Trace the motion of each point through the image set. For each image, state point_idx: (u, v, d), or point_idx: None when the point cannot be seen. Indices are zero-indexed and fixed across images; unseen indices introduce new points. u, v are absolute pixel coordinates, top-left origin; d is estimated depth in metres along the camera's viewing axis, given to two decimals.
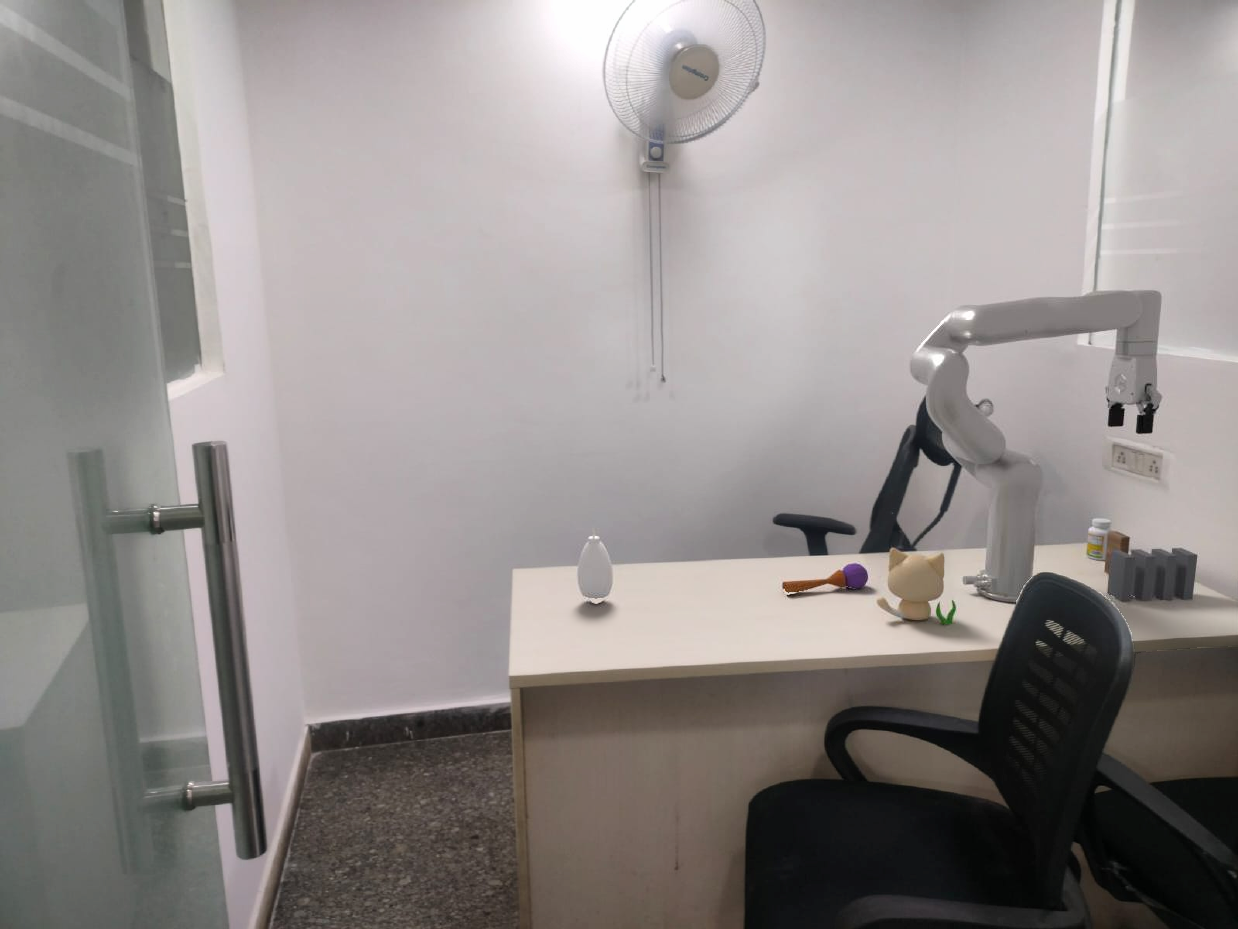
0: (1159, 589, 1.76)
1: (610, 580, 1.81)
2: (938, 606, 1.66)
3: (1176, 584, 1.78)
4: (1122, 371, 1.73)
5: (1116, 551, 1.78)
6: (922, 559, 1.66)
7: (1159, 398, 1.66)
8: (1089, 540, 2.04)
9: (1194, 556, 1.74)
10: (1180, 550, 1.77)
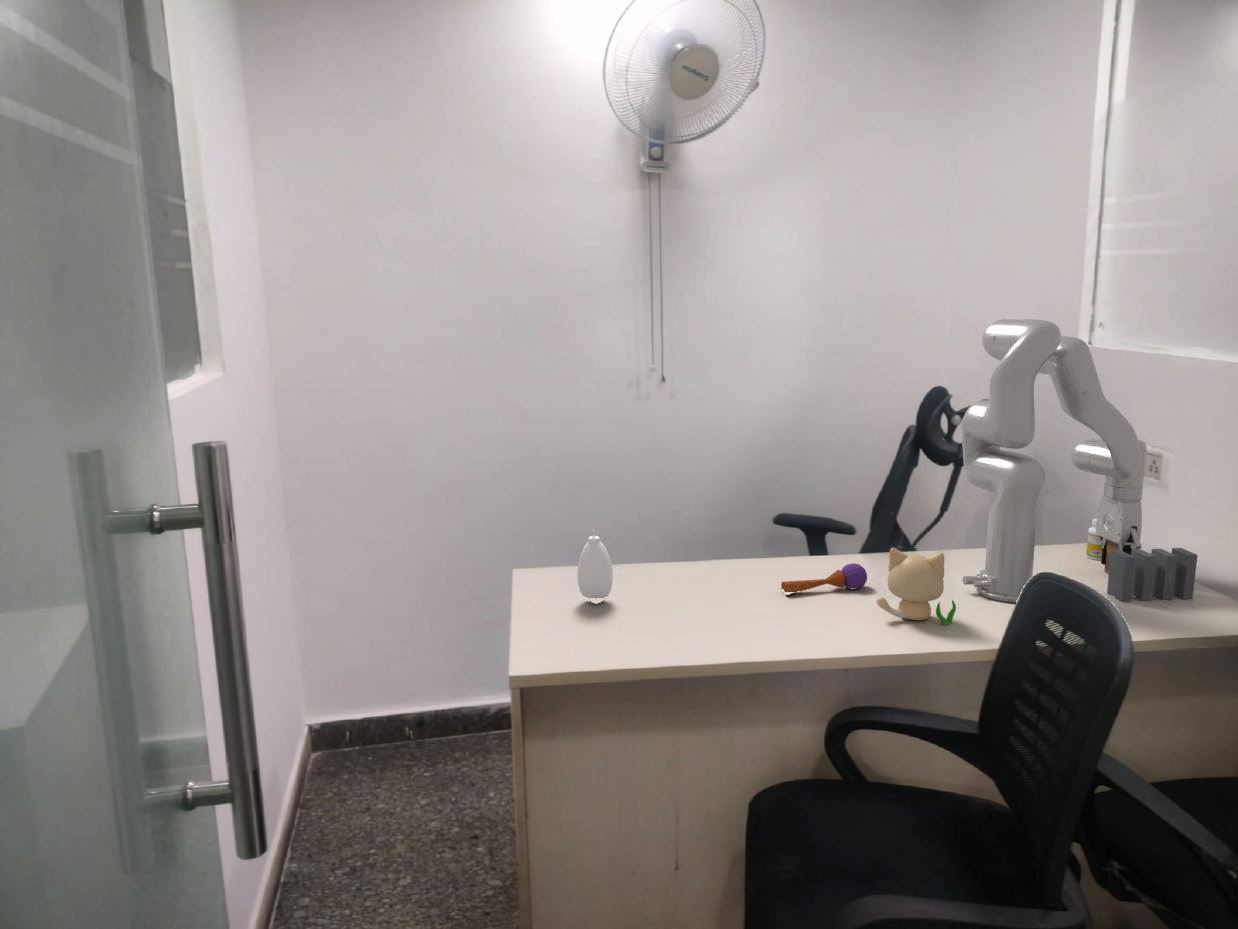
0: (1159, 589, 1.76)
1: (610, 580, 1.81)
2: (938, 606, 1.66)
3: (1176, 584, 1.78)
4: (1110, 512, 1.88)
5: (1116, 551, 1.78)
6: (922, 559, 1.66)
7: (1138, 548, 1.83)
8: (1089, 540, 2.04)
9: (1194, 556, 1.74)
10: (1180, 550, 1.77)
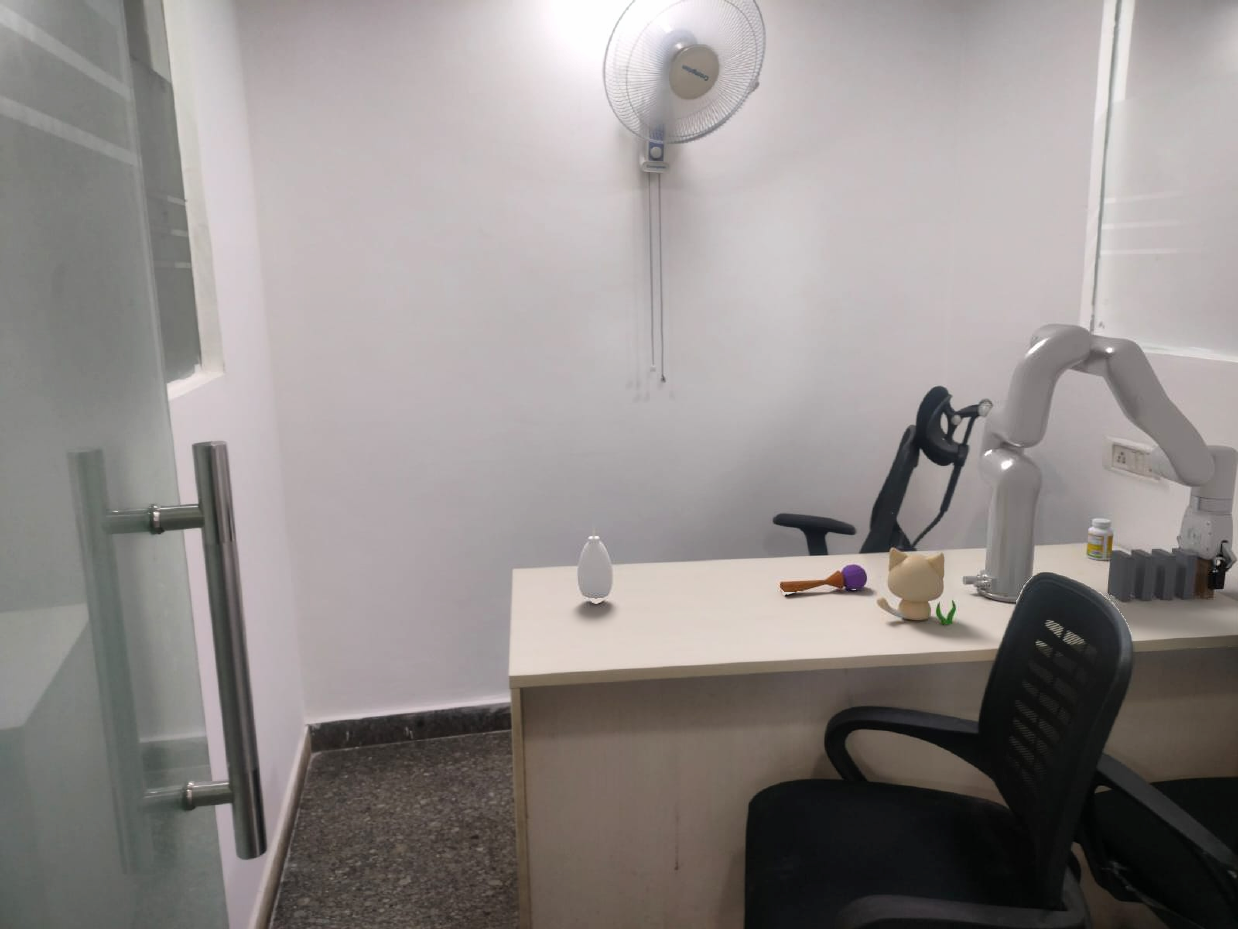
0: (1159, 589, 1.76)
1: (610, 580, 1.81)
2: (938, 606, 1.66)
3: (1176, 584, 1.78)
4: (1197, 524, 1.75)
5: (1116, 551, 1.78)
6: (922, 559, 1.66)
7: (1234, 561, 1.68)
8: (1089, 540, 2.04)
9: (1194, 556, 1.74)
10: (1180, 550, 1.77)
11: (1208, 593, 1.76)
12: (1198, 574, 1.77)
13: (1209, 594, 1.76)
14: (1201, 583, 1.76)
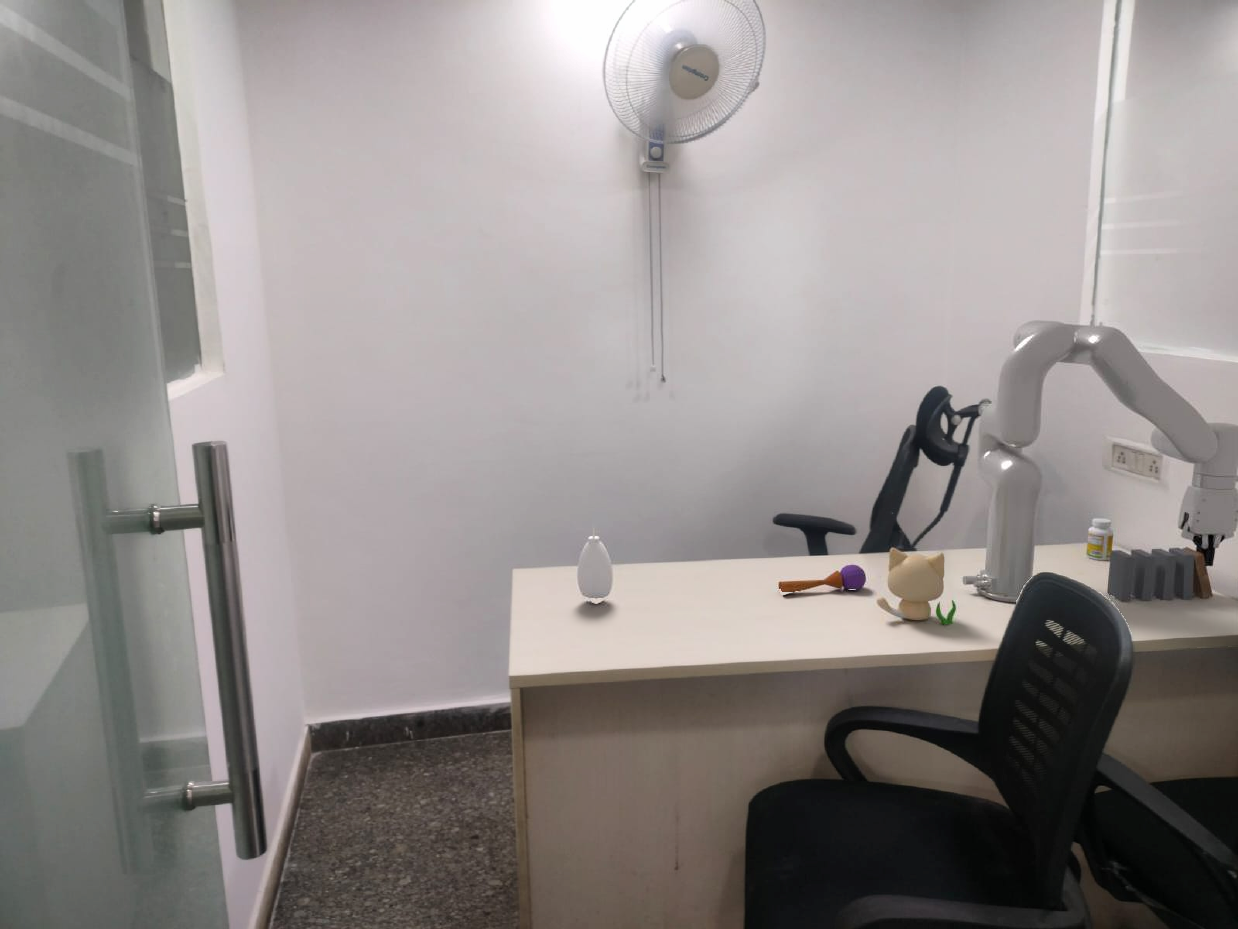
0: (1159, 589, 1.76)
1: (610, 580, 1.81)
2: (938, 606, 1.66)
3: (1175, 584, 1.78)
4: None
5: (1116, 551, 1.78)
6: (922, 559, 1.66)
7: None
8: (1089, 540, 2.04)
9: (1191, 556, 1.74)
10: (1177, 550, 1.77)
11: (1206, 592, 1.76)
12: None
13: (1207, 593, 1.76)
14: (1196, 583, 1.76)
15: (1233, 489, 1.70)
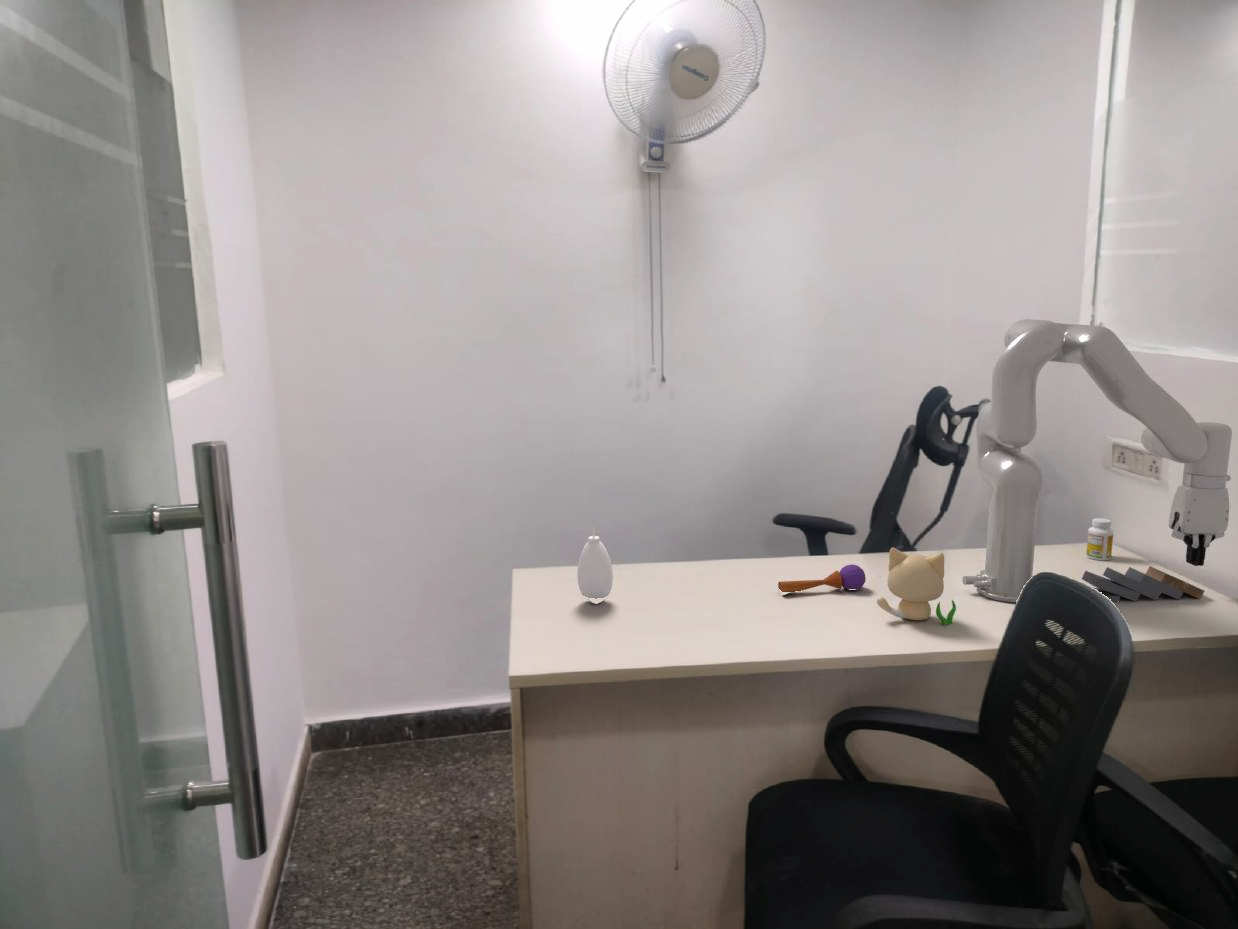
0: None
1: (610, 580, 1.81)
2: (938, 606, 1.66)
3: None
4: None
5: None
6: (922, 559, 1.66)
7: (1175, 537, 1.75)
8: (1089, 540, 2.04)
9: (1144, 577, 1.74)
10: (1131, 575, 1.78)
11: (1197, 593, 1.76)
12: None
13: (1198, 592, 1.76)
14: None
15: (1223, 489, 1.70)
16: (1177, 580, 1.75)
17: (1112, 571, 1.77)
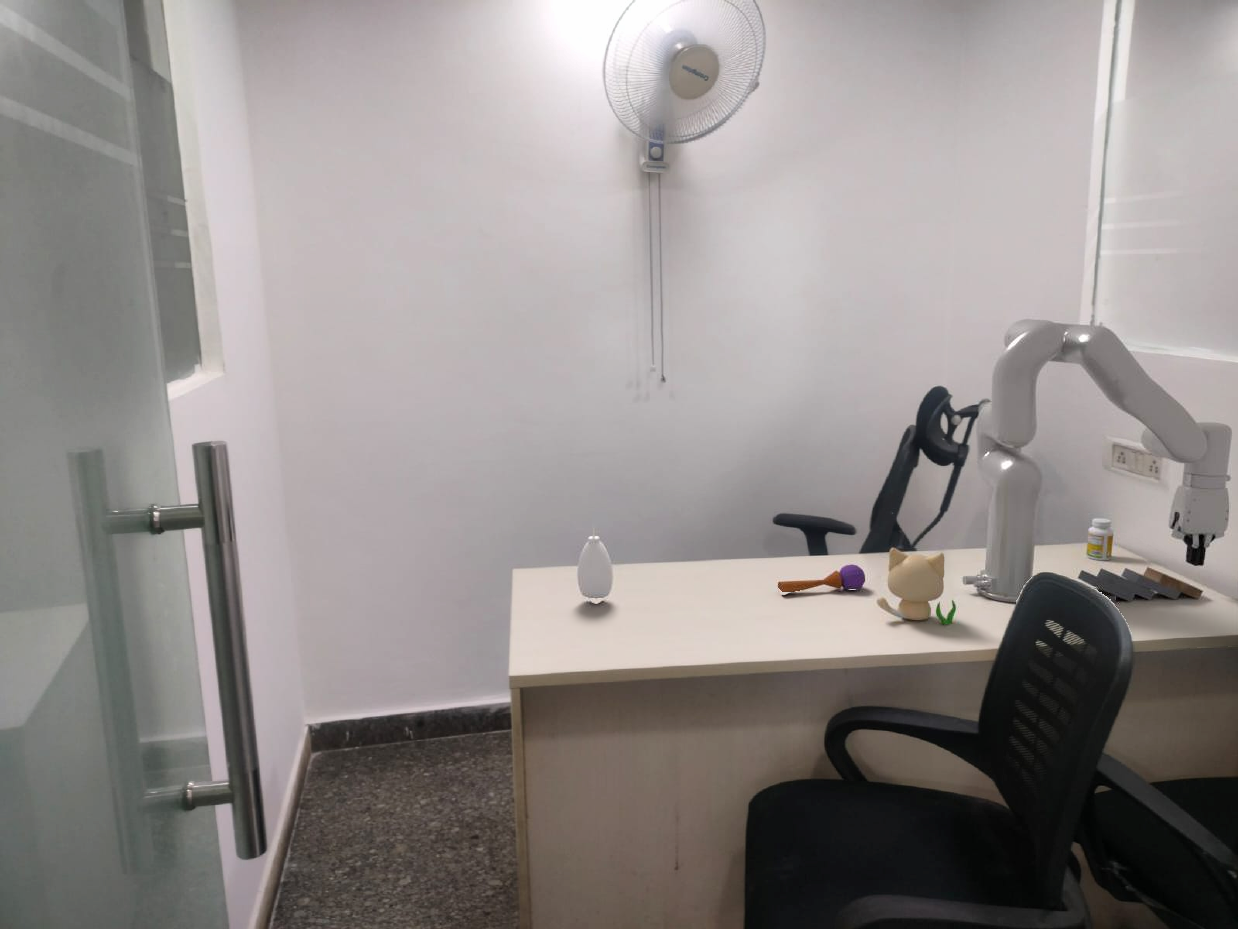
0: None
1: (610, 580, 1.81)
2: (938, 606, 1.66)
3: None
4: None
5: None
6: (922, 559, 1.66)
7: (1175, 537, 1.75)
8: (1089, 540, 2.04)
9: (1140, 578, 1.75)
10: (1127, 576, 1.78)
11: (1195, 593, 1.75)
12: None
13: (1196, 593, 1.75)
14: None
15: (1223, 489, 1.70)
16: (1175, 581, 1.75)
17: (1106, 572, 1.77)
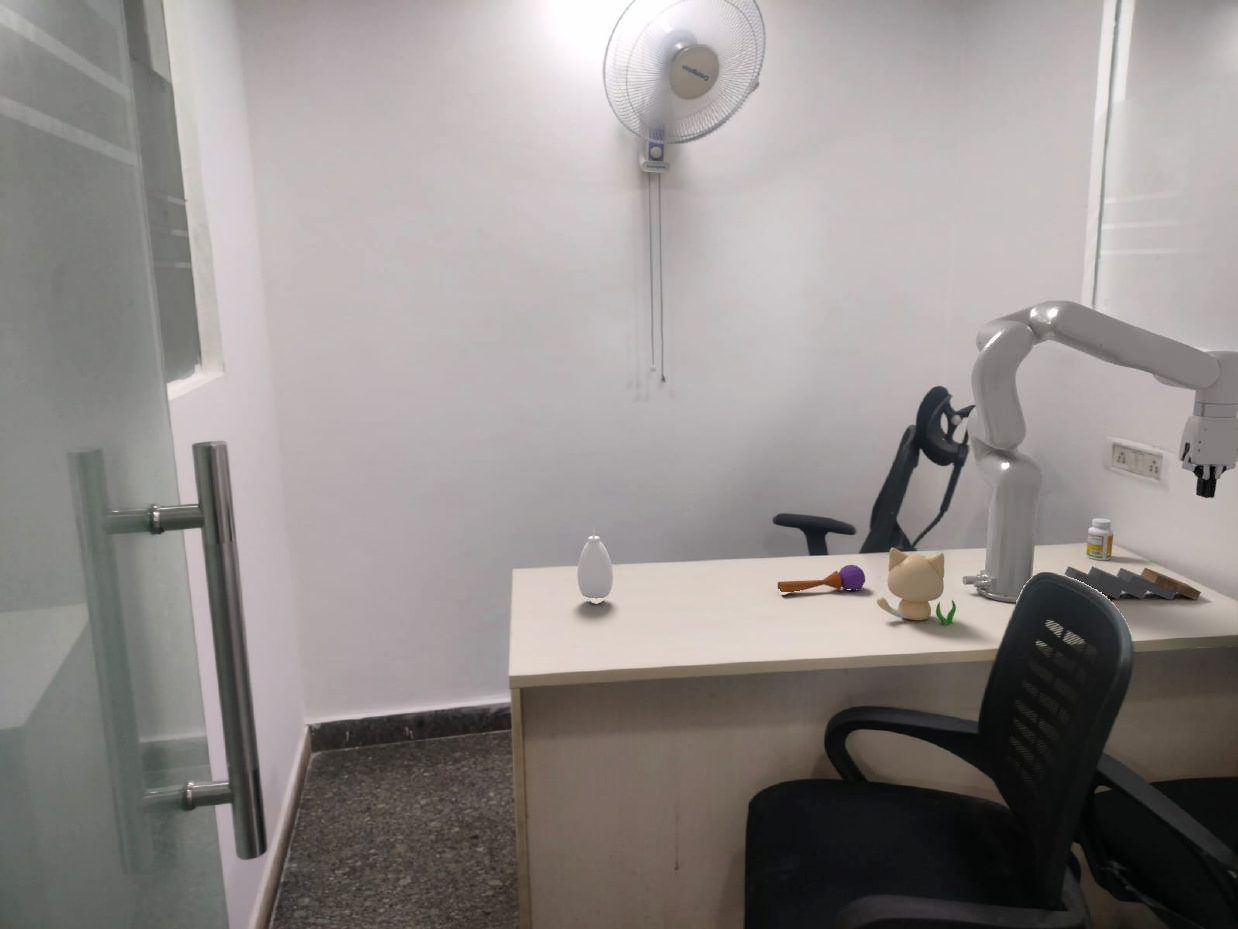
0: None
1: (610, 580, 1.81)
2: (938, 606, 1.66)
3: None
4: None
5: None
6: (922, 559, 1.66)
7: None
8: (1089, 540, 2.04)
9: (1133, 578, 1.75)
10: (1121, 575, 1.79)
11: (1193, 594, 1.75)
12: None
13: (1194, 594, 1.75)
14: None
15: (1235, 417, 1.68)
16: (1171, 581, 1.75)
17: (1095, 570, 1.79)
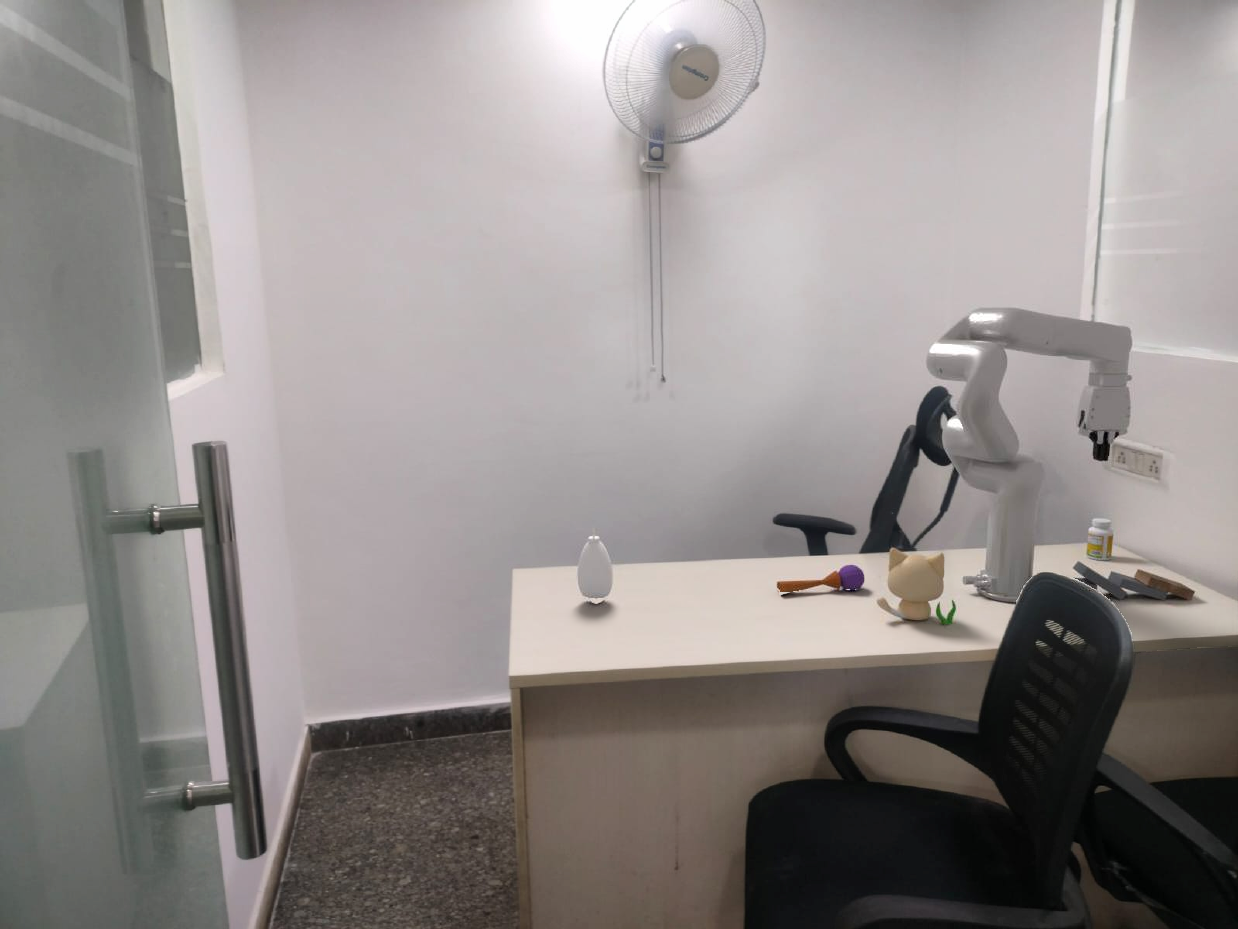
0: None
1: (610, 580, 1.81)
2: (938, 606, 1.66)
3: None
4: None
5: None
6: (922, 559, 1.66)
7: (1081, 434, 1.88)
8: (1089, 540, 2.04)
9: (1123, 581, 1.76)
10: (1112, 579, 1.79)
11: (1187, 594, 1.75)
12: None
13: (1188, 593, 1.75)
14: None
15: (1124, 386, 1.83)
16: (1164, 583, 1.75)
17: (1081, 565, 1.79)
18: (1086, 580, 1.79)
